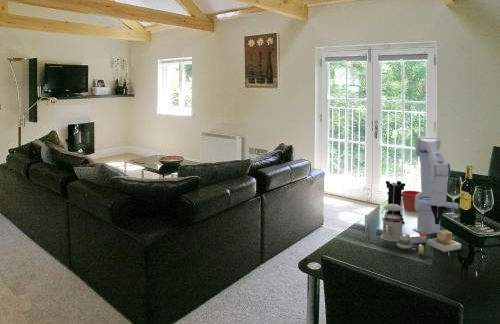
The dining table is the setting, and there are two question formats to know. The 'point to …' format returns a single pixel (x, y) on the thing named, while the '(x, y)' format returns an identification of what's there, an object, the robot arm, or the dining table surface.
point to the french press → (392, 222)
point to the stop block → (444, 237)
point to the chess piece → (395, 197)
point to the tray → (443, 248)
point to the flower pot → (409, 200)
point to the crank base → (410, 247)
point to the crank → (412, 238)
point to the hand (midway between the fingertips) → (436, 223)
